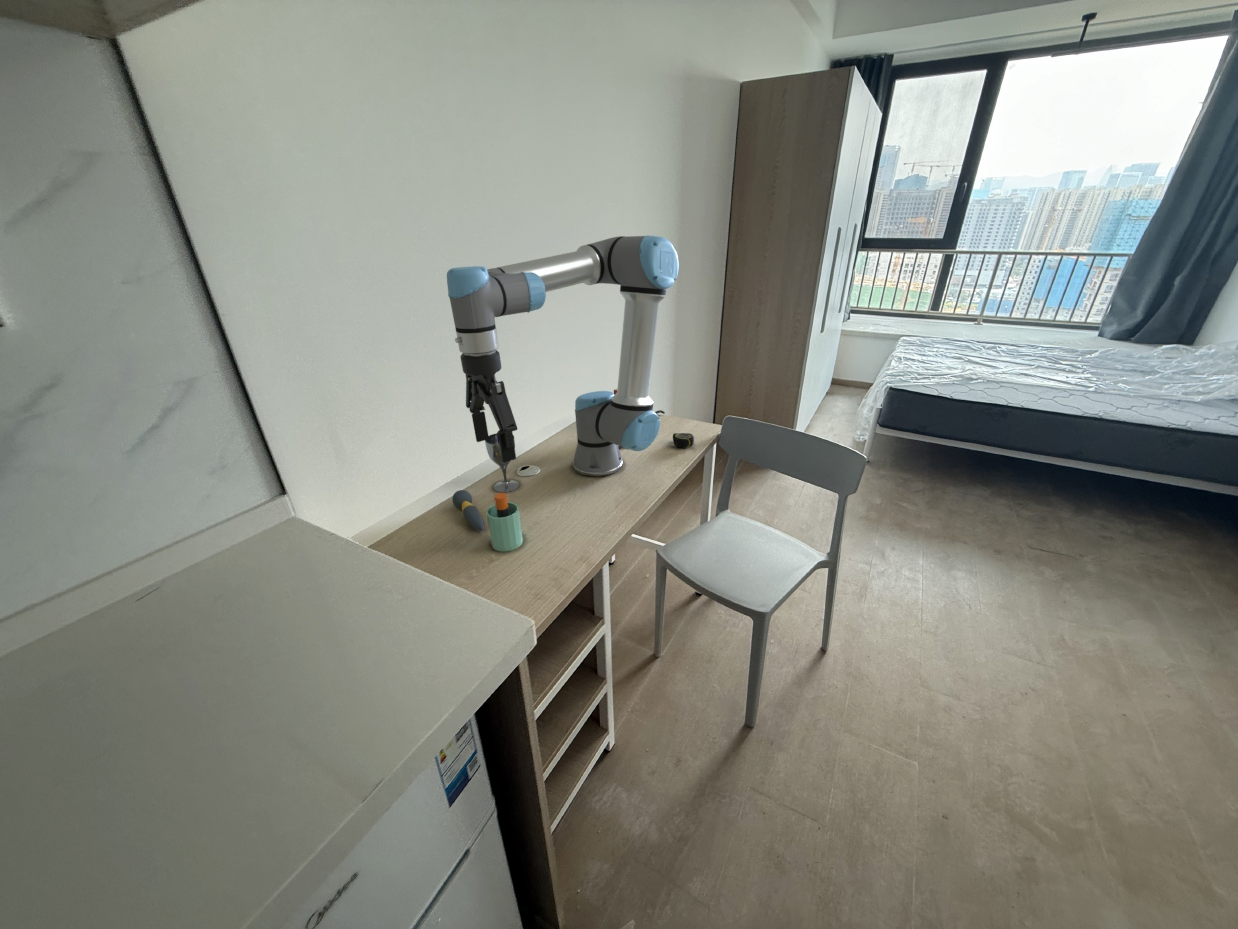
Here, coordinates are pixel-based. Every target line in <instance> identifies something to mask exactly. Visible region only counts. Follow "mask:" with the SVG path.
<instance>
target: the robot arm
mask: <svg viewBox="0 0 1238 929" xmlns="http://www.w3.org/2000/svg"><path fill="white" fill-rule="evenodd" d="M679 266H680V264H679V256H678V252H677V250H676V249H675V247H674V245H673V243H672V242H671V241H670V240H669V239H667V238H665V237H663V236H658V235H657V236H656V235H630V236H629V235H628V236H623V235H622V236H620V235H619V236H613V237H609V238H606V239H603V240H598V241H595V242H592V243H587V244H583V245H580V246H579V247H578V248H577V249H576V250H575V251H570V252H566V253H561V254H556V255H551V256H546V257H540V258H537V259H536V258H535V259H531V260H527V261H521V262H517V263H512V264H506V265H503V266H497V267H493V268H486V267H485V266H480V265H476V266H475V265H474V266H473V265H472V266H458V267H453V268H452V267H451V268H450V269H448V271H447V272H446V286H447V295H448V298H449V303H450V307H451V312H452V317H453V318H452V319H453V323H454V327H455V328H454V329H455V333H456V337H455V339H454V341H455V343H456V344H458V351H459V352H460V353H461V355H460V356H459V358H460V362H461V369H462V372H463V374H464V375H465V407H466V408H467V409H469V412H470V414H471V418H472V424H473V429H474V436H475V441H476V443H480V442H485V440H488V439H489V431H488V430H489V429H488V424H487V419H486V413H485V410H486V408H485V406H484V404H486V405H488V407H489V409H490V412H491V415H492V416H493V419H494V421H495V423H496V425H497V428H498V431H497V432H496V433H497V434H498V435H499V441H500V448H501V454H502V461H503V462H504V463H505V462H508V461H510V462H511V461H514V460H517V456H516V455H517V454H516V446H515V447H514V440H513V435H514V433H513V432H516V431H518V425H517V422H516V419H515V417H514V414H513V410H512V407H511V404H510V401H509V398H508V396H507V392H506V387H505V382H504V381H503V380H499V381H497V377H496V373H498V372H500V371H501V370H502V361H501V353H500V351H498V349H499V348H500V344H499V338H498V331H497V326H496V318H499V317H500V318H501V317H505V316H510V315H516V314H524V313H527V314H528V313H531V312H533V311H536V310H540V309H542V308H543V306H544V304H545V303H546V298H547V297H546V296H547V293H548V292H553V291H556V290H561V289H564V288H568V287H572V286H576V285H580V284H584V285H586V286H593V285H597V284H605V285H607V284H608V285H618V286H620V287H619V293H620V295H621V296H622V297H623V299H624V312H623V323H622V333H621V345H620V346H621V347H620V356H619V367H618V368H619V369H618V381H617V388H618V389H617V388H616V389H617V393H616V394H615V395H614V391H610V390H596V391H590V392H586V393H582V394H580V395H578V396H577V397H576V399H575V402H574V407H575V408H574V413H575V415H574V416H575V425H576V426H575V427H576V428H575V429H576V439H577V444H576V449H575V453H574V456H573V458H572V468H573V470H574V471H575V472H576V473H578V474H579V475H583V476H587V477H604V476H605V477H606V476H609V475H613V474H615V473H617V472H619V471H620V470H621V469H622V468H623V456H622V454H621V451H620V449H622V448H623V449H625V450H629V451H630V450H631V451H633V452H642V451H645V450H646V449H648V448H649V447H650V446H651V445H652V444H653V442H654V441H655V440H656V438H657V437H658V434H659V431H660V427H661V419H660V417H659V415H658V414H660V413H661V414H662V415H664V414H666V412H665V411H664V410H662V409H661V410H660V409H659V410H656V411H653V410H654V401H653V399H652V398H651V397H650V386H651V377H652V368H653V358H654V351H655V350H654V349H655V341H656V332H657V321H658V312H659V304H660V302H661V301H662V300H664V299H665V298H666V294H667V289H669V288H671V287H672V286H673V285H674V284H675V281H676V280H677V279H678V274H679Z"/></svg>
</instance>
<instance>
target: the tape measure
mask: <svg viewBox="0 0 1238 929" xmlns="http://www.w3.org/2000/svg"><path fill="white" fill-rule="evenodd" d="M672 441H673V445H674V446H675V447H677V448H683V449H685V448H690V447H692V446H693V445H694V442H695V437H694V435H693V434H692V433H689V432H676V433H675V432H674V433H673V434H672Z"/></svg>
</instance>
